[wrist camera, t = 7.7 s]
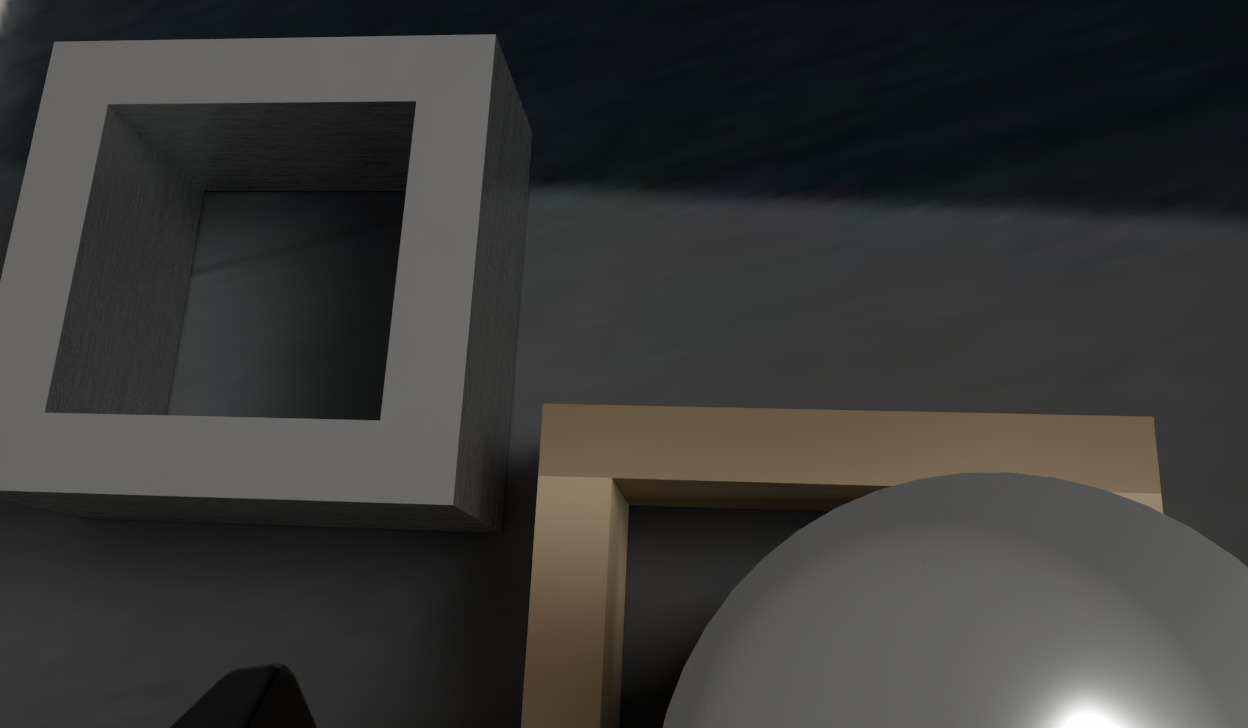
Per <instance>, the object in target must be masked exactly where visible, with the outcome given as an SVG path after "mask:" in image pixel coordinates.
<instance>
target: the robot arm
mask: <svg viewBox="0 0 1248 728" xmlns="http://www.w3.org/2000/svg"><path fill="white" fill-rule="evenodd" d="M170 728H317V726H316V724H315V722H314V719H313V717H312V715H311V712H310V710H309V708H308V705H307V703H306V701H305V698H304V696H303V693H302V691H301V689H300V686H299V684H298V682H297V679H296V677H295V676H294V674H293V672H292V671H291V670H290V669H289V668H288V667H287V666H285V665H282V664H270V665H262V666H255V667H248V668H241V669H237V670H234V671H231V672H229V673H227V674H226V675H225V676H224V677H222V678H221V679H220V680H219V681H218V682H217V683H216V684H215V685H214V686H213V687H212V688H211V689H210V690H209V691H208V692H207V693H205V694H204V695H203V696H202V697H201V698H200V699H199V700H198V701H197V702H196V703H195V704H194V705H193V706H192V707H191V708H190V709H189V710H188V711H187V712H186V713H185V714H184V715H183V716H182V717H181V718H179V719H178V720H177V721H176V722H175V723H174V724H173V725H172V726H171V727H170Z"/></svg>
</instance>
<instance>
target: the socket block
mask: <svg viewBox="0 0 1248 728" xmlns="http://www.w3.org/2000/svg"><path fill="white" fill-rule="evenodd" d="M531 146H532V131H531V129H530V126H529V123H528V120H527V118H526V115H525V112H524V110H523V107H522V104H521V101H520V99H519V96H518V93H517V91H516V88H515V85H514V82H513V80H512V77H511V74H510V72H509V69H508V66H507V63H506V61H505V58H504V55H503V53H502V50H501V47H500V44H499V42H498V39H497V36H496V34H494V35H434V36H375V37H316V38H257V39H197V40H138V41H79V42H54V46H53V50H52V55H51V59H50V64H49V68H48V72H47V77H46V81H45V86H44V90H43V95H42V99H41V103H40V108H39V112H38V117H37V121H36V126H35V130H34V134H33V139H32V143H31V148H30V152H29V157H28V161H27V165H26V170H25V174H24V179H23V183H22V188H21V192H20V196H19V201H18V205H17V210H16V214H15V219H14V223H13V227H12V232H11V236H10V241H9V245H8V250H7V254H6V259H5V263H4V267H3V272H2V276H1V281H0V500H5V501H9V502H14V503H18V504H22V505H27V506H31V507H36V508H40V509H45V510H49V511H54V512H58V513H63V514H67V515H72V516H76V517H80V518H87V519H116V520H145V521H173V522H202V523H231V524H259V525H288V526H317V527H345V528H374V529H403V530H431V531H460V532H489V533H501V532H502V519H503V506H504V494H505V481H506V468H507V455H508V442H509V429H510V416H511V403H512V391H513V378H514V365H515V352H516V339H517V326H518V313H519V300H520V288H521V275H522V262H523V249H524V236H525V223H526V210H527V197H528V185H529V172H530V159H531ZM204 191H406V196H405V205H404V214H403V223H402V232H401V240H400V249H399V258H398V267H397V276H396V284H395V293H394V302H393V311H392V320H391V329H390V337H389V346H388V355H387V364H386V373H385V382H384V390H383V399H382V408H381V417H380V420H338V419H296V418H253V417H211V416H168V415H166V411H167V405H168V399H169V393H170V387H171V382H172V376H173V370H174V364H175V358H176V353H177V347H178V341H179V335H180V329H181V323H182V318H183V312H184V306H185V300H186V294H187V289H188V283H189V277H190V271H191V265H192V260H193V254H194V248H195V242H196V236H197V231H198V225H199V219H200V213H201V207H202V202H203V196H204Z"/></svg>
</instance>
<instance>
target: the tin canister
mask: <svg viewBox="0 0 1248 728" xmlns="http://www.w3.org/2000/svg"><path fill="white" fill-rule="evenodd" d="M663 728H1248V567H1247V566H1245V565H1244V564H1243V563H1242V562H1241V561H1239V560H1238V559H1237V558H1236V557H1235V556H1233V555H1232V554H1230V553H1229V552H1227V551H1225V550H1224V549H1222V548H1221V547H1219V546H1218V545H1216V544H1215V543H1213V542H1212V541H1210V540H1209V539H1207V538H1206V537H1204V536H1203V535H1201V534H1200V533H1198V532H1197V531H1195V530H1194V529H1192V528H1190V527H1188V526H1186V525H1184V524H1182V523H1180V522H1178V521H1176V520H1175V519H1173V518H1171V517H1169V516H1167V515H1165V514H1163V513H1161V512H1159V511H1157V510H1155V509H1153V508H1151V507H1149V506H1147V505H1144V504H1141V503H1139V502H1136V501H1133V500H1131V499H1128V498H1125V497H1122V496H1120V495H1117V494H1114V493H1112V492H1109V491H1106V490H1103V489H1100V488H1096V487H1092V486H1088V485H1084V484H1079V483H1075V482H1071V481H1067V480H1063V479H1059V478H1053V477H1045V476H1036V475H1027V474H1019V473H1010V472H1002V473H959V474H952V475H945V476H938V477H930V478H923V479H918V480H914V481H910V482H907V483H903V484H899V485H896V486H892V487H889V488H885V489H881V490H878V491H875V492H873V493H870V494H868V495H865V496H863V497H861V498H858V499H856V500H854V501H851V502H849V503H847V504H844V505H842V506H839V507H837V508H835V509H833V510H832V511H830V512H828V513H827V514H825V515H823V516H822V517H820V518H818V519H817V520H815V521H813V522H812V523H810V524H808V525H806V526H805V527H803V528H801V529H800V530H798V531H797V532H796V533H794V534H793V535H792V536H791V537H789V538H788V539H787V540H786V541H784V542H783V543H782V544H780V545H779V546H778V547H777V548H775V549H774V550H773V551H772V552H770V553H769V554H768V555H767V556H765V557H764V558H763V559H762V560H761V561H760V562H759V563H758V564H757V565H756V566H755V567H754V568H753V569H752V570H751V572H750V573H749V574H748V575H747V576H746V577H745V578H744V579H743V580H742V581H741V582H740V583H739V584H738V585H737V586H736V587H735V588H734V589H733V590H732V592H731V593H730V594H729V596H728V597H727V599H726V600H725V601H724V603H723V604H722V605H721V607H720V608H719V609H718V611H717V612H716V614H715V615H714V616H713V618H712V619H711V620H710V622H709V623H708V625H707V626H706V628H705V629H704V631H703V633H702V635H701V637H700V639H699V640H698V642H697V644H696V646H695V648H694V650H693V651H692V653H691V655H690V657H689V659H688V660H687V662H686V664H685V666H684V668H683V671H682V673H681V676H680V678H679V681H678V684H677V686H676V689H675V691H674V694H673V696H672V699H671V702H670V704H669V707H668V709H667V713H666V717H665V721H664V725H663Z"/></svg>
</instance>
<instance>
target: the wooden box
mask: <svg viewBox="0 0 1248 728" xmlns="http://www.w3.org/2000/svg"><path fill="white" fill-rule="evenodd" d="M1002 472H1010V473H1019V474H1027V475H1036V476H1045V477H1053V478H1059V479H1063V480H1067V481H1071V482H1075V483H1079V484H1084V485H1088V486H1092V487H1096V488H1100V489H1103V490H1106V491H1109V492H1112V493H1114V494H1117V495H1120V496H1122V497H1125V498H1128V499H1131V500H1133V501H1136V502H1139V503H1141V504H1144V505H1147V506H1149V507H1151V508H1153V509H1155V510H1157V511H1159V512H1161V513H1163V508H1162V498H1161V487H1160V477H1159V467H1158V457H1157V447H1156V437H1155V427H1154V417H1139V416H1092V415H1046V414H999V413H952V412H905V411H859V410H812V409H765V408H718V407H672V406H625V405H578V404H543V414H542V429H541V443H540V458H539V472H538V487H537V501H536V516H535V530H534V545H533V559H532V574H531V588H530V603H529V617H528V632H527V646H526V661H525V675H524V690H523V704H522V719H521V728H619V721H620V698H621V676H622V653H623V630H624V608H625V585H626V562H627V540H628V517H629V505H636V506H668V507H699V508H731V509H762V510H794V511H826V512H830V511H832V510H833V509H835V508H837V507H839V506H842V505H844V504H847V503H849V502H851V501H854V500H856V499H858V498H861V497H863V496H865V495H868V494H870V493H873V492H875V491H878V490H881V489H885V488H889V487H892V486H896V485H899V484H903V483H907V482H910V481H914V480H918V479H923V478H930V477H938V476H945V475H952V474H959V473H1002Z"/></svg>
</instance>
